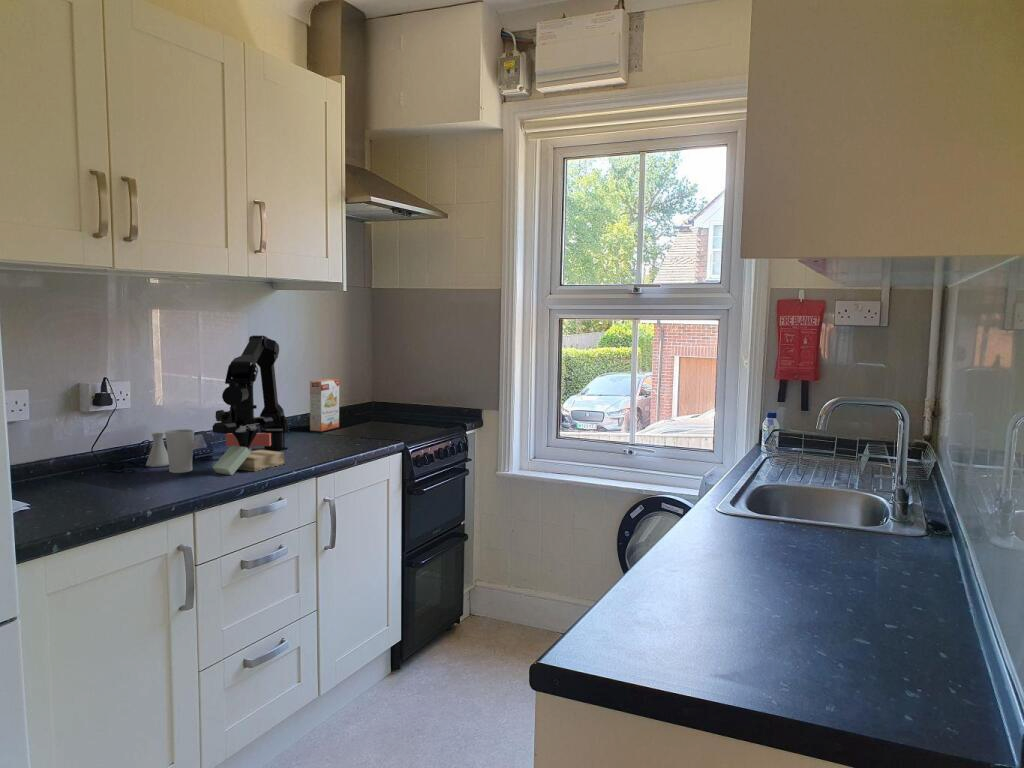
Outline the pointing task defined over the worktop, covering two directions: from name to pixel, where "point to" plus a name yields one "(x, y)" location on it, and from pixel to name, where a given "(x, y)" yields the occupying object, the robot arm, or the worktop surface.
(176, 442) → the cup
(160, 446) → the flask
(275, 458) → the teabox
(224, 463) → the green soap bar
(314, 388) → the cracker box
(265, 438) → the red rectangular slab
